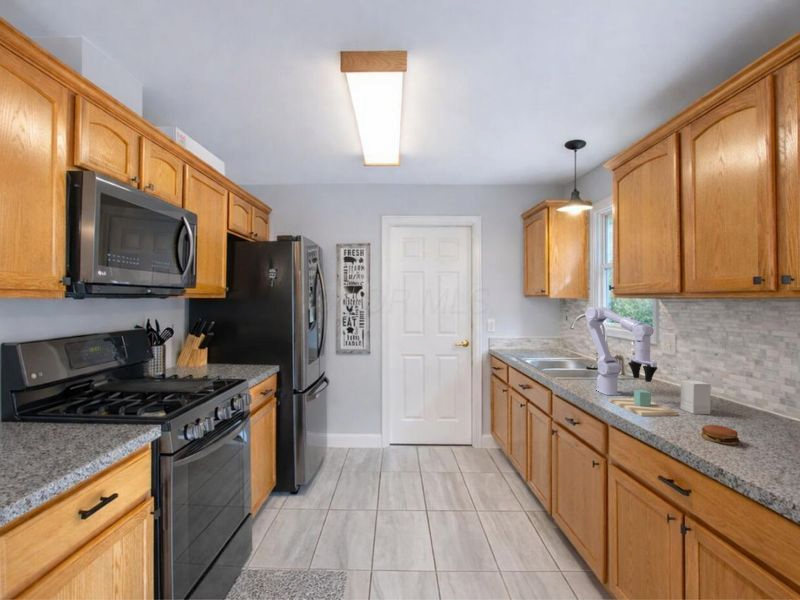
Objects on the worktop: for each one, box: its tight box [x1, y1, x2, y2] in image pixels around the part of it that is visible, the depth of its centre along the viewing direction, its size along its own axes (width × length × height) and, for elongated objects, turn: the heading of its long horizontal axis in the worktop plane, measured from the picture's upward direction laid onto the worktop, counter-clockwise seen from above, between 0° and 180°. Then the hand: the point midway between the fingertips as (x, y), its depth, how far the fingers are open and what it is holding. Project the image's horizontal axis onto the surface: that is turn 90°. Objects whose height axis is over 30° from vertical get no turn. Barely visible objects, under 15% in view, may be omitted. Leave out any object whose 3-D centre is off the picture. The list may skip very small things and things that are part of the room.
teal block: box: [633, 389, 652, 407], centre depth 158 cm, size 4×4×6 cm
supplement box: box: [679, 379, 712, 415], centre depth 155 cm, size 7×7×13 cm
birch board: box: [608, 397, 679, 417], centre depth 158 cm, size 20×16×2 cm
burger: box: [700, 424, 740, 445], centre depth 123 cm, size 10×9×5 cm
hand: (642, 379), depth 168 cm, fingers open, 7 cm apart
